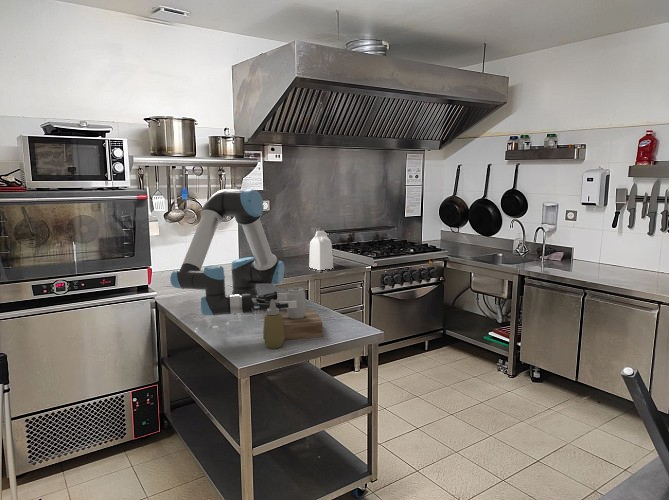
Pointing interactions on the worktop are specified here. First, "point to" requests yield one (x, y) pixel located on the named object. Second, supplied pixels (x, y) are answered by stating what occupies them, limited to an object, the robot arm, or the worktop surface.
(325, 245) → the milk
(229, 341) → the worktop surface
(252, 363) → the worktop surface
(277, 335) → the squeeze bottle
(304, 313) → the can
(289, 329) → the walnut block
